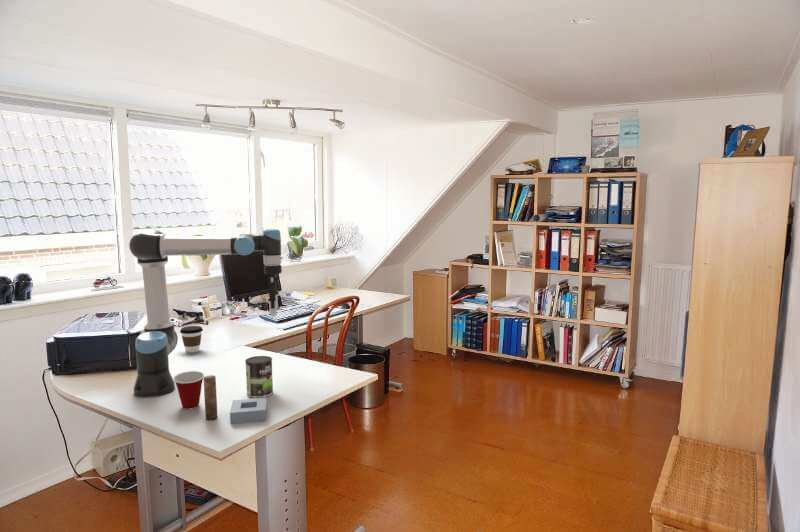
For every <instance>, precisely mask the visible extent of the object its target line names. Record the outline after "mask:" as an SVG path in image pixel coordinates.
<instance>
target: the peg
mask: <svg viewBox="0 0 800 532" xmlns="http://www.w3.org/2000/svg"><path fill="white" fill-rule="evenodd" d="M216 379H217V377H216V375H213V374H212V375H204V378H203V392H204V393H203V394H204V397H203V398H204V412H205V415H204V417H205V420H206V421H214V420H216V419H218V399H217V382H216V381H217V380H216Z"/></svg>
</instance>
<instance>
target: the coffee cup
mask: <svg viewBox="0 0 800 532" xmlns="http://www.w3.org/2000/svg"><path fill="white" fill-rule="evenodd" d="M203 330H204V329H203V328H202V326H201V325H190V326H184V327H182V328H180V330H179V333H180V334H181V339H182V343H183V346H184V350H185V352H186V353H197V352H199V350H200V347H201V344H202V343H201V341H202V332H203Z"/></svg>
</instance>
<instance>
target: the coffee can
mask: <svg viewBox="0 0 800 532" xmlns="http://www.w3.org/2000/svg"><path fill="white" fill-rule="evenodd" d="M244 363H245V374H246V375H245V376H246V377H245V378H246V396H247V397H249V398H250V399H254V398H267V397H270V396H271V395H273V394H274V389H273V386H274V385H273V384H274V383H273V358H272V357H271V356H267V355H257V356H251V357H248V358H246V359H245V361H244Z"/></svg>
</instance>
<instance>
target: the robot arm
mask: <svg viewBox="0 0 800 532" xmlns="http://www.w3.org/2000/svg"><path fill="white" fill-rule="evenodd" d="M128 245H129V246H128V248H129V250H130V253H131V254H132V255H133V256H134V257H135V258H136V259H137V264H138V265H140V267H141V268H142V269H141V270H142V278H143V288H144V298H145V308H146V309H145V310H146V319H147V320H146V321H147V323H146V324H145V325H144V327H143V329H144V333H140V334H139V335H138V336H137V337H136V338H135V343H134V344H135V345H134V348H135V355H136V356H135V357H136V370H137V371H136V372H137V373H136V375H137V376H136V377H135V378H136V379H135V382H134V384H133V385H134V386H133V395H134V396H136V397H139V398H155V397H159V396H163V395H167V394H170V393H171V392H173V391H174V390H175V389H176V388H175V387H176V384H175V381H174V379H173V378H174V377H172V373H171V372H170V368H169V366H170V365H169V364H170V363H169V355H170V354H171V353H172V352H173V351H174V350H175V348H176V347H177V345H178V341H179V338H178V333H177V332H176V330H175V324H174V322H173V321H171V320H170V309H169V300H168V287H167V277H166V268H165V265H166V264H167V263H168V261H169V259H168V256H170V257H171V256H211V255H212V256H213V255H214V256H215V255H216V256H218V255H219V256H220V255H221V256H222V255H225V256H226V255H240V256H249V255H251V254H252V253H253V252H263V256H262V257H263V264H264V266H263V274H265V275H269V277H267V280H268V281H267V282H268V288H269V289H268V290H269V294H268V297H269V298H267V301H268V302H269V317H275V316H277V310H278V309H279V308H278V307H279V306H278V305H279V303H278V296H279V295H280V293H279V291H278V282H279V278H278V276H277V275H279V274H282V271H283V269H282V260H283V256H282V239H281V231H280V229H276V228H269V229H267V228H265V229H262V233H240V234H239V233H238V234H234V235H233V236H231V235H223V236H222V235H217V236H214V235H213V236H212V235H210V236H209V235H206V236H201V235H200V236H198V235H197V236H195V235H194V236H167V235H166V234H165V233H164V232H162V231H160V230H157V229H146V230H143V231H142V230H141V231H139V232H137V233H134V235H133V236H132V237H131V238H130V240H129V243H128Z"/></svg>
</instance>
